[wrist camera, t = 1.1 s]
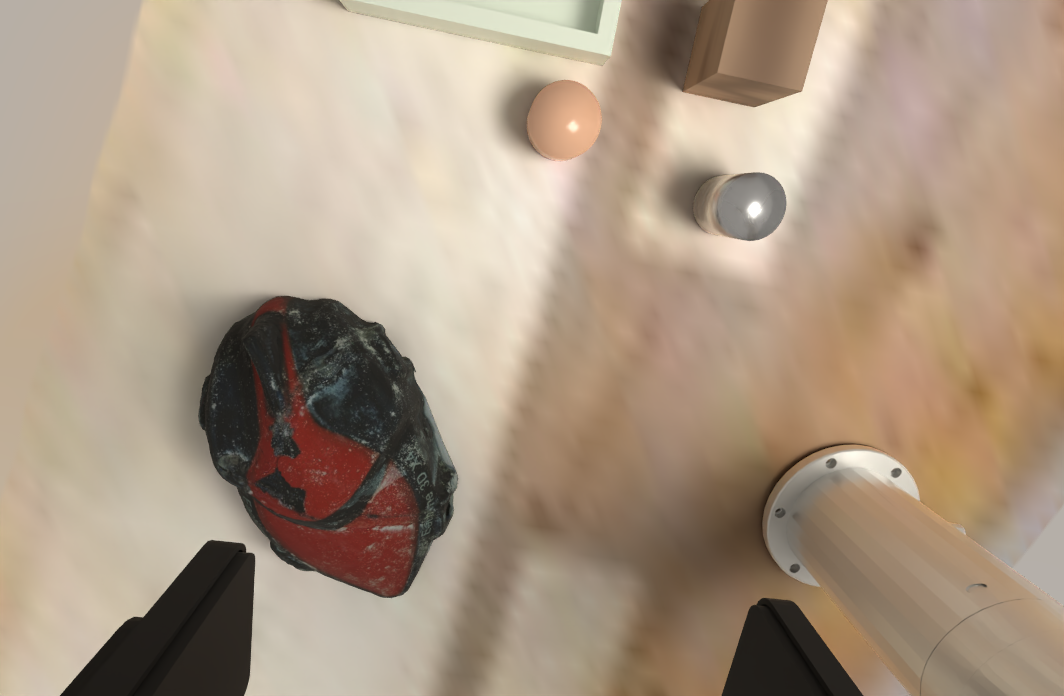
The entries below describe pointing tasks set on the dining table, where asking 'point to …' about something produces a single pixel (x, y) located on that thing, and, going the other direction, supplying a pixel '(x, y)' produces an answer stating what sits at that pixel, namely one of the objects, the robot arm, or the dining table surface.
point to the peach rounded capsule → (564, 120)
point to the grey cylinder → (740, 205)
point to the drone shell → (329, 443)
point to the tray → (512, 22)
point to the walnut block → (753, 49)
